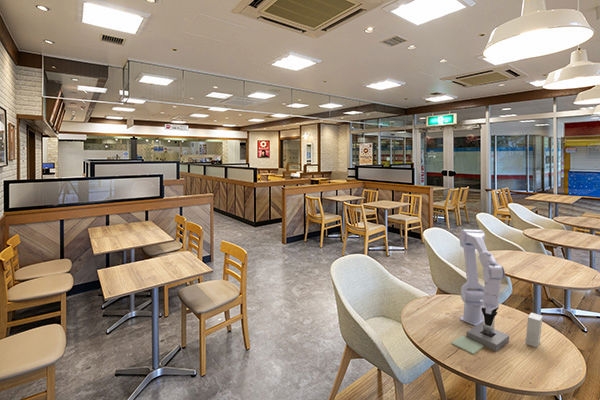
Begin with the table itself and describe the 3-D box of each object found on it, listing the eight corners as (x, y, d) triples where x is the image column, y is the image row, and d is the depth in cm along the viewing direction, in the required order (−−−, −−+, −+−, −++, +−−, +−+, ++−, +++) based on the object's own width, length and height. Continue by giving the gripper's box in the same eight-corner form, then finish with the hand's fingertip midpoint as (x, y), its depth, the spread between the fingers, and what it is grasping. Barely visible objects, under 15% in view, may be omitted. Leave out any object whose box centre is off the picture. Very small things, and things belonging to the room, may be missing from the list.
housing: (479, 329, 143) (480, 323, 143) (508, 341, 134) (509, 335, 133) (466, 337, 137) (466, 331, 136) (496, 351, 127) (496, 344, 126)
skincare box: (527, 337, 137) (530, 312, 135) (539, 342, 134) (543, 315, 132) (524, 343, 133) (527, 317, 131) (537, 348, 130) (540, 320, 128)
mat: (462, 336, 137) (462, 335, 137) (483, 346, 130) (484, 345, 130) (451, 343, 132) (451, 342, 132) (473, 354, 125) (473, 353, 125)
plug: (485, 328, 137) (486, 313, 137) (495, 332, 134) (496, 316, 133) (480, 331, 135) (482, 315, 134) (490, 335, 132) (492, 319, 131)
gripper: (483, 285, 140) (480, 313, 142) (478, 296, 129) (475, 327, 131) (501, 289, 136) (498, 318, 138) (498, 301, 125) (495, 332, 127)
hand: (488, 323), depth 134 cm, fingers closed on plug, 4 cm apart
